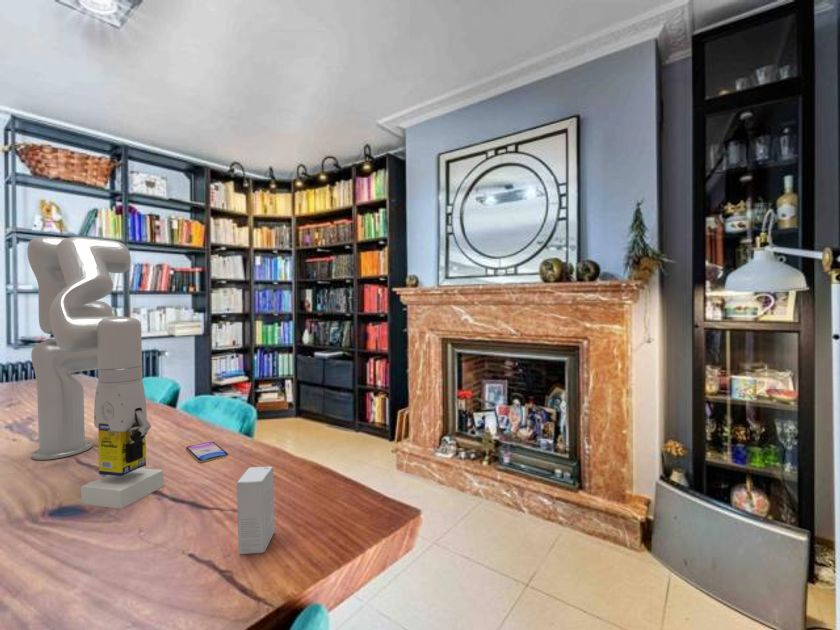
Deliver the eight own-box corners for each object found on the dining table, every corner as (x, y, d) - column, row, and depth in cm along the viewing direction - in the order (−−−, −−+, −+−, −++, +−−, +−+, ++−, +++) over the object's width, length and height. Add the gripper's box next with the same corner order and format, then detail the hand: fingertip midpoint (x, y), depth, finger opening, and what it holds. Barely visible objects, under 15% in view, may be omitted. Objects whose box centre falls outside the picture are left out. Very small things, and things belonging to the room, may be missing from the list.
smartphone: (213, 443, 116) (213, 440, 116) (230, 457, 106) (230, 453, 105) (184, 450, 111) (184, 446, 111) (199, 465, 100) (199, 461, 100)
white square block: (81, 505, 80) (81, 486, 80) (127, 483, 90) (127, 466, 90) (121, 510, 78) (120, 490, 78) (163, 487, 88) (163, 470, 88)
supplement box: (121, 477, 81) (120, 424, 80) (98, 474, 82) (96, 422, 82) (147, 465, 87) (146, 416, 86) (125, 463, 88) (123, 415, 87)
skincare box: (250, 533, 69) (249, 466, 69) (275, 532, 69) (273, 465, 69) (237, 555, 63) (235, 482, 63) (264, 553, 63) (263, 480, 63)
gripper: (74, 376, 83) (76, 459, 83) (131, 381, 77) (133, 470, 78) (112, 370, 90) (114, 447, 91) (166, 374, 84) (168, 456, 85)
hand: (123, 457), depth 84 cm, fingers closed on supplement box, 6 cm apart
